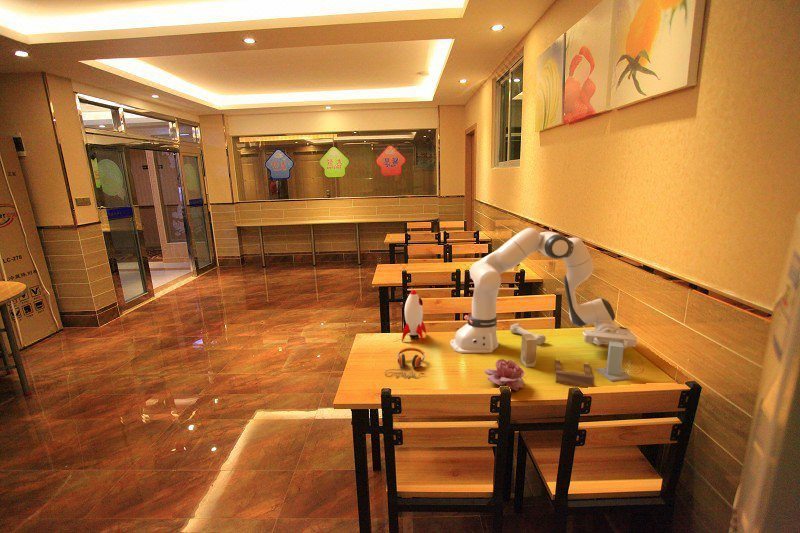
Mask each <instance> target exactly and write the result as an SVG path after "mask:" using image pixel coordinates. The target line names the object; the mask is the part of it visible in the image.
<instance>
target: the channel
mask: <svg viewBox="0 0 800 533" xmlns="http://www.w3.org/2000/svg"><path fill="white" fill-rule="evenodd" d="M554 363H555V365H554V366H555V383H557V382H560V383H559V384H564V383H567V384H566V385H573V386H578V385H581V386H580V387H585V386H588V387H587V388H593V387H594V382H595V376H594V374H592V373H591V372H592V371H591V368H590V367H591V366H590V363H583V368H584V369H583V370H584V373H578V372H575V371H564V370H562V366H561V365H562V364H561V360H559V359H558V360H557V359H555V362H554ZM592 386H593V387H592Z"/></svg>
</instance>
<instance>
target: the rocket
mask: <svg viewBox="0 0 800 533" xmlns="http://www.w3.org/2000/svg"><path fill="white" fill-rule="evenodd" d="M423 304H424V302H423V300H422V298H421V297H420V296H419V294H418V293H417V291H416V290H415V289H412V290H411V291H410V292H409V295H408V297H407V299H406V301H405V304H404V320H405V323H406V324H405V326H404V329H403V332H402V336H401V342H403V341H404V340H405V338H406V336H407V335H408V334H409V338H411V339H418V338H419V337H420V339H421V342H422V343H424V336H423V333H424V334H425V335H426V334H427V329H426V325H425V323H424V321H423V319H424V318H423V316H424V308H423Z"/></svg>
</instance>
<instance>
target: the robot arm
mask: <svg viewBox="0 0 800 533" xmlns="http://www.w3.org/2000/svg"><path fill="white" fill-rule="evenodd" d="M534 252H539V253H541V254H542V255H543V256H546V257H549V258H551V259H554V260H556V259H557V260H558V259H559V260H560V259H562V260H563V261H564V264H565V266H566V270H567V271H566V274H565V275H564V277H563V284H564V290H565V295H566V300H567V305H568V309H569V310H568V315H569V320H570V322H571V323H572V325H575V326H576V327H579V328H581V327H584V326H587V325H589V324H590V325H591V324H593V323H594V329H585V331H583V330H582V335H583V342H586V343H589V344H591V343H592V344H595V345H596V346H599V347H600V346H602V345H608V346H609V341H610V342H619V343H622V344H623V347H624V349H627V347H629V348H636V347H637V343H638V339H637V337H636V336H635V334H634V333H633V332H631V329H630V328H629V327H628V328H627V327H624V326H619V325H617V324H616V323H615V320H616V314H615V312H614V311H615V310H614V309H613V306H612V305H611V302H609V301H608V300H606V299H605V298H602V297H601V298H597V299H593V300H591V301H587V302H584V303H581V304H579V303H578V301H577V297H576V296H577V295H576V289H577V288H578V287H579V286H580V284H582V283H584V282H585V281H586V280H587V279H589V277H591V275H593V272H594V270H595V265H594V262H593V259H592V256H591V254H590V252H589V249H588V248H587V246H586V244H585V243H584V241H583V240H582V239H581V238H579V237H569V238H567V237H566V236H564V235H563V234H559V233H558V232H556V231H551V230H543V231H538V230H537V229H535V228H534V227H526V228H525V229H523V230H521V231H519V232H518V233H516V234H515V235H513V236H512V237H511V238H509V239H508V240H507V241H506V242H504V243H503V244H501V246H499V247H498V248H497V249H496V250H494V251H493V252H491V253H489V254H488V255H486V256H484V257H483V258H480V259H479V260H477V261H475V262H474V263H472V264H471V266H470V268H469V276H470V279H471V280H472V281H473V284H474V289H473V290H474V291H473V294H472V298H471V315H470V316H469V315H467V314H465V315H464V317H463V318H464V319H465V321H467V323H466V324H464V325H463V326H462V327H460V328H459V329H457V330H456V332H455V335H454V336H455V337H454V339H453V338H452V339H451V340H450V342H449V344H450V345H449V346H450V347H451V348H452V350H454V351H455V352H457V353H460V354H477V353H479V354H480V353H481V354H482V353H485V354H486V353H487V354H488V353H493V352H494V350H496V349H497V348H498V347H499V345H500V344H499V342H498V336H497V335H498V334H497V326H498V322H497V321H498V320H497V319H498V317H497V298H498V296H499V295H498V294H499V289H500V287H501V285H502V277H501V275H502V274H503V273H506V272H508V271H510V270H513V269H515V268H516V267H517V266H518V265H519V264H521V263H522V262H523V261H525V260H526V259H527V258H528V257H529V256H530V255H531V254H533V253H534Z"/></svg>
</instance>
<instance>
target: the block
mask: <svg viewBox="0 0 800 533" xmlns="http://www.w3.org/2000/svg"><path fill="white" fill-rule="evenodd" d="M624 349H625V348H624V347H623V344H622V343H619V342H610V341H609V345H608V350H607V359H606V360H607V361H606V368H607V369H606V370H607V373H608V375H615V376H621V370H622V367H623V357H624Z"/></svg>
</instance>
